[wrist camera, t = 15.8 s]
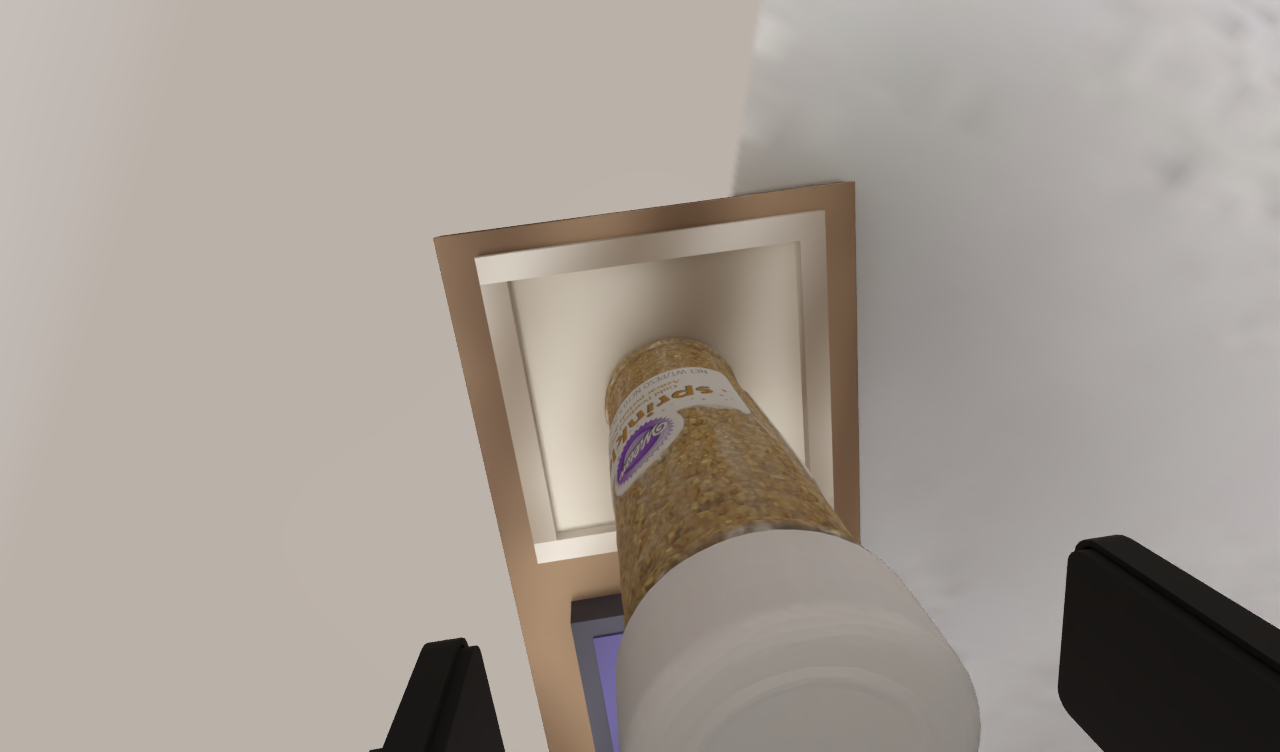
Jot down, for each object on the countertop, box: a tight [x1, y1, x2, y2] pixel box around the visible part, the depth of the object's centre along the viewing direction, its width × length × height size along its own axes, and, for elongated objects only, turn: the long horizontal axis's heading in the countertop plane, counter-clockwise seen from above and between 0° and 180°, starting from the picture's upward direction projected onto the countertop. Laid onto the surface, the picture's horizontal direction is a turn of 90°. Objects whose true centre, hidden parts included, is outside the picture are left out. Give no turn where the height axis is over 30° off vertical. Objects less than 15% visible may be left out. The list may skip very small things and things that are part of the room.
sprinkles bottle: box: [605, 338, 981, 752], centre depth 13 cm, size 5×5×13 cm
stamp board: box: [433, 182, 860, 752], centre depth 22 cm, size 13×24×2 cm, turn 7°
